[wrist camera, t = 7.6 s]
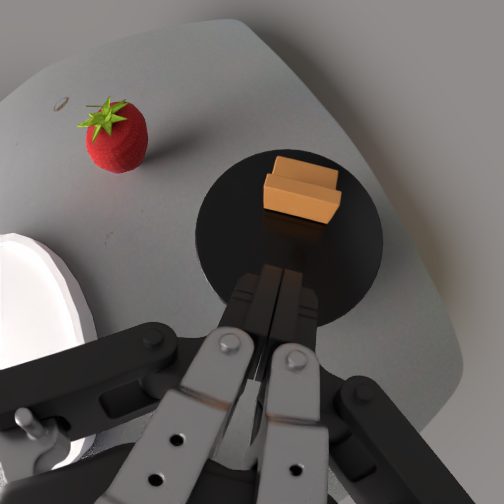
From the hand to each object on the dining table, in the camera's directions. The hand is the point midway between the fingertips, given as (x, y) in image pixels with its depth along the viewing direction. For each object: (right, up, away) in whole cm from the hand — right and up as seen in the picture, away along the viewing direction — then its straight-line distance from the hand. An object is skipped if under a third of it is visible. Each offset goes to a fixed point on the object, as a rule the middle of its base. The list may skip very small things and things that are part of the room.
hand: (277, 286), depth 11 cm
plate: (-29, -11, +12) cm, 33 cm away
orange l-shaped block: (+2, +4, +3) cm, 5 cm away
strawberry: (-13, +11, +17) cm, 24 cm away
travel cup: (+1, 0, +13) cm, 13 cm away
